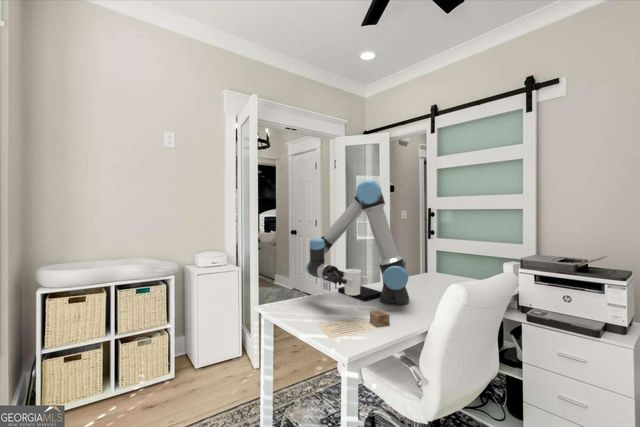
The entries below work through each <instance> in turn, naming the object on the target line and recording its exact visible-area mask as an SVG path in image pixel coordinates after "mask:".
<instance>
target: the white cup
mask: <svg viewBox="0 0 640 427" xmlns="http://www.w3.org/2000/svg"><path fill="white" fill-rule="evenodd" d="M361 276H362V270H361V269H358V268H348V269H347V268H346V269H344V270H343V277H345V278H348V279H351V280H353V287H351V286H348V285H345V284H343V287H344V288H345V294H346V295H345V296H347V295H359V294H360V287H361V286H362V282H361Z"/></svg>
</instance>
